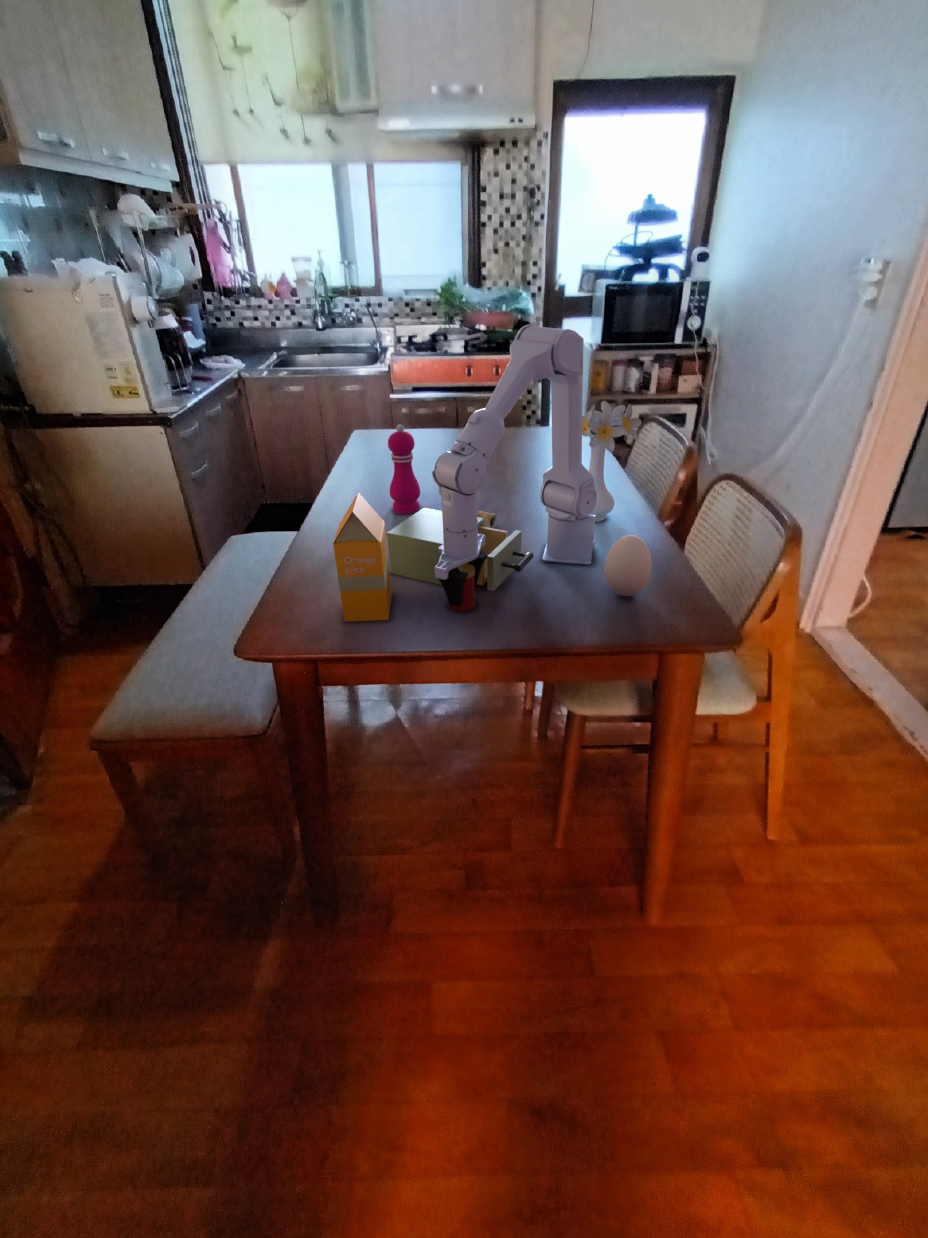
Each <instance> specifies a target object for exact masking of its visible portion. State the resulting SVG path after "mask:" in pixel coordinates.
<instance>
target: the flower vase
mask: <svg viewBox="0 0 928 1238" xmlns="http://www.w3.org/2000/svg"><path fill="white" fill-rule="evenodd" d="M600 408H601V411H599V410H596V404H595V403H594V404H593V405H591V407H590V409H589V411H587V412H586V413H585V414H584V415H582V437H586V438H587V437H589V443H588V445H589V447H590V457H589V459H590V460H589V466H588V467H589V468H588V471H589V472H590V473H591V474H592V476H593V477H594V487H595V489H596V493H597V501H596V505H595V507H594V509H593V511H592V512H591V513H590V514H592V515H596V519H595V523H598V522H602V521H604V520H605V519H606V518H607V515H609V514H610V513H611V512H612V511H613V510H614V507H615V499H614V496H613V494H612V493H611V492H610V491H609V490H608V489H607V486H606V483H605V477H604V475H605V473H604V472H605V471H604V469H605V457H606V456H605V454H606V451H608V452H610V453H612V452H614V451H615V447H616V444H615V440H614V438H619V437H622V436H625V437H628V436H629V435H630V436H631V437H632V438H633V439H634V440H635V441H639V440H640V437H639V434H638V432H637V431H636V430H635V429H636V428H640V426H642V419H640V418H639V417H633V406H632V404H627V408H626V405H624V404H620V405H618V406H616V407H615V408H613V410H612V407H611V405H610V403H609V402H607V401H606V400H603V401H601V403H600Z"/></svg>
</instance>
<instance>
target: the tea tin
mask: <svg viewBox="0 0 928 1238" xmlns="http://www.w3.org/2000/svg"><path fill="white" fill-rule="evenodd" d="M458 569H460V571H462V572H466V573H469V574H468V576H467V578H466V580H465V584H464V588H463V598H462V603H461V606H460V607H457V606H453V605H449V607H450V609H451V610H453V611H455V612H468V611H471V610H472V609H474V607H475V604H476V602H475V592H474V574H475V568H474V566H473V565H471V564H468V563H465V564H463V565H461V566H458Z"/></svg>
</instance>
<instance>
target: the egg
mask: <svg viewBox="0 0 928 1238" xmlns="http://www.w3.org/2000/svg"><path fill="white" fill-rule="evenodd" d="M652 563H653V562H652V556H651V552H650V548H649V547H648V545H647V544H646V542H645V541H644V539H642V538H641V537H640V536H638V535H635V534H626V535H623V536H621V537H620V538H619V539H618V540H616V541H615V542H614V544H613V545H612V546H611V547H610V549H609V551H608V553H607V555H606V558H605V562H604V571H603V572H604V577H605V581H606V583H607V586H608V587H609V589H610V590H612V591H613V592H614V593H615V594H617V595H619V596H622V597H630V596H634V595H636V594H638V593H639V592H640V591H642V590H643V589H644V588H645V587H646V586H647V584H648V582H649V581H650V578H651V574H652V568H653V567H652V566H653V564H652Z"/></svg>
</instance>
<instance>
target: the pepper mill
mask: <svg viewBox="0 0 928 1238" xmlns="http://www.w3.org/2000/svg"><path fill="white" fill-rule="evenodd" d="M395 430H396V431H394V432H392V433H390V435H389V436H388V439H387V448H388V449H389V451H390V452H391V454H390V456H391V461H392V462H393V476H392V480H391V482H390V485H389V496H390V498H391V499H392V500H393V502H392V509H393V512H394V513H396V514H400V515H410V514H415V513H417V512H418V511H420V501H419V500H418V499H419V497H420V496H421V486H420V484H419V481H418V480H417V477H416V475H415V473H414V470H413V469H414V468H413V460H414V453H413V450H414V448H415V445H416V444H415V439H414V436H413V435H412V434H411V433H410V432H409V431H405V427H404V424H400V423H399V424H398V425H396V427H395Z"/></svg>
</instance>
